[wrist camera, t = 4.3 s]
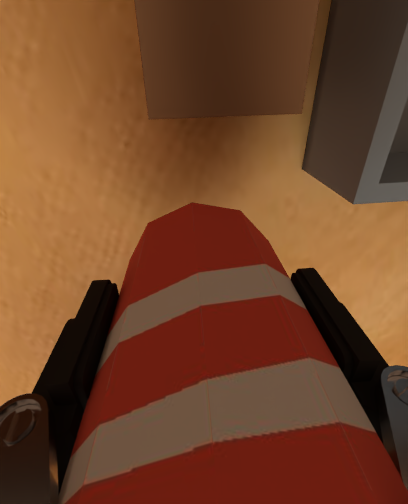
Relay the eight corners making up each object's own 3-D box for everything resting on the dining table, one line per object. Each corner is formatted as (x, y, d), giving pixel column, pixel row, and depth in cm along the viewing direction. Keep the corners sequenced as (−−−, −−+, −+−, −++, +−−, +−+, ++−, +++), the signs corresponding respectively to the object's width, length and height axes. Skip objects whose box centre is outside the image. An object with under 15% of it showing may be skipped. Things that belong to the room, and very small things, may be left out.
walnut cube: (271, -46, 10) (339, -130, 6) (259, 102, 13) (301, 113, 9) (139, -47, 10) (118, -137, 6) (155, 105, 13) (148, 119, 9)
